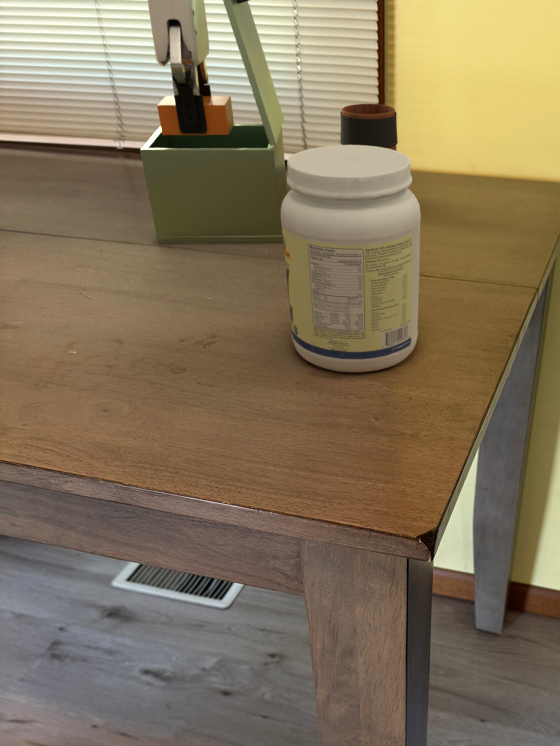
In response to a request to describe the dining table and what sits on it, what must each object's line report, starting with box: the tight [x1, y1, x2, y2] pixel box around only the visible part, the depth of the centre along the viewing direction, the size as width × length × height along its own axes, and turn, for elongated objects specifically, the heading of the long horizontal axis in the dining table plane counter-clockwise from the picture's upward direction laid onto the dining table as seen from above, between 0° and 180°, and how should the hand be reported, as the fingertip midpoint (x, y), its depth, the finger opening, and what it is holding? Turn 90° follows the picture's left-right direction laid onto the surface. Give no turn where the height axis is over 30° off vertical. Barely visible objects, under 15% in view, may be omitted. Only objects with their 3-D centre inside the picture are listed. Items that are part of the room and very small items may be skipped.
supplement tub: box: [281, 144, 422, 373], centre depth 68 cm, size 12×12×17 cm
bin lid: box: [222, 0, 285, 146], centre depth 89 cm, size 16×14×5 cm
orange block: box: [156, 95, 235, 135], centre depth 92 cm, size 8×6×3 cm
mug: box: [339, 103, 399, 151], centre depth 108 cm, size 9×12×12 cm
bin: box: [139, 123, 288, 244], centre depth 97 cm, size 16×14×11 cm
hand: (197, 125), depth 93 cm, fingers closed on orange block, 5 cm apart
